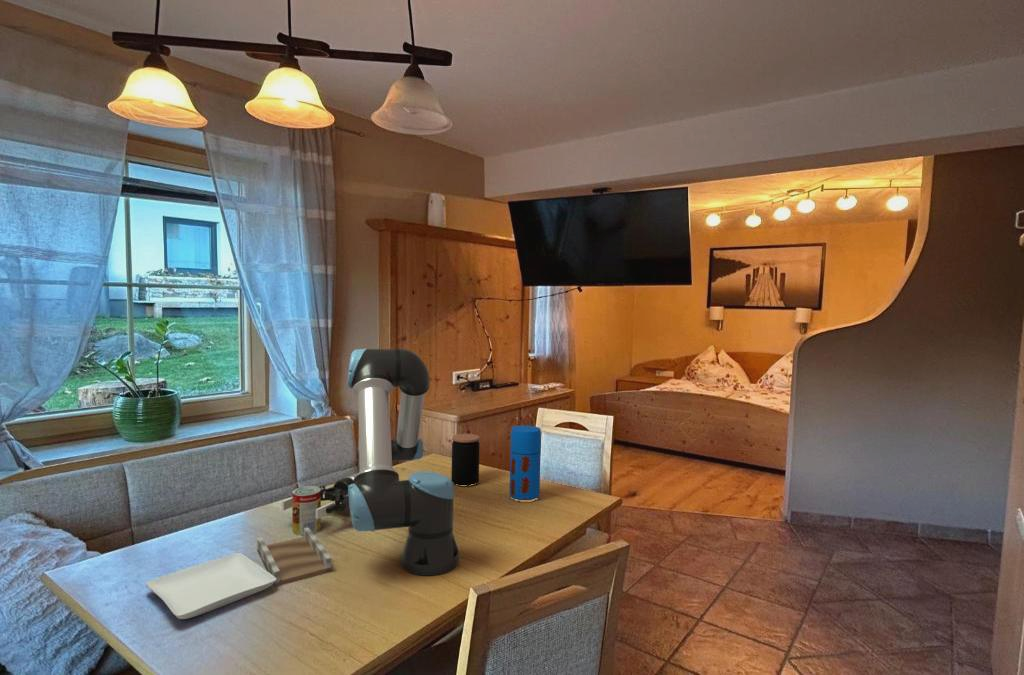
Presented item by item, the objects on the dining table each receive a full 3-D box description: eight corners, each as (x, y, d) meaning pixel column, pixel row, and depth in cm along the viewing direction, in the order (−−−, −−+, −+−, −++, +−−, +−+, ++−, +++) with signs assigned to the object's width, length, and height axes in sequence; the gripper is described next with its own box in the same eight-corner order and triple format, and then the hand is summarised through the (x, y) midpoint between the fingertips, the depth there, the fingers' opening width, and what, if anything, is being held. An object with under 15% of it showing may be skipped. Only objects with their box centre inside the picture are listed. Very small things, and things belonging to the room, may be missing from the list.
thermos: (539, 503, 183) (541, 432, 182) (509, 502, 183) (510, 431, 182) (538, 492, 194) (540, 425, 193) (509, 491, 194) (511, 425, 193)
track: (331, 571, 133) (331, 557, 133) (274, 586, 125) (274, 572, 125) (308, 539, 151) (308, 527, 151) (257, 550, 143) (257, 538, 143)
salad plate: (238, 562, 137) (238, 549, 137) (278, 591, 124) (278, 577, 124) (143, 595, 121) (143, 581, 121) (177, 633, 107) (177, 616, 107)
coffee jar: (480, 479, 208) (481, 434, 207) (476, 488, 197) (477, 440, 196) (454, 477, 209) (455, 433, 208) (448, 486, 198) (449, 439, 197)
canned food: (315, 522, 163) (315, 484, 162) (324, 530, 157) (324, 491, 156) (288, 528, 158) (288, 489, 157) (297, 537, 152) (297, 497, 151)
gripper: (379, 506, 169) (331, 530, 150) (321, 493, 179) (269, 514, 160) (379, 483, 168) (331, 504, 149) (321, 471, 179) (269, 490, 160)
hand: (299, 510), depth 155 cm, fingers open, 13 cm apart
